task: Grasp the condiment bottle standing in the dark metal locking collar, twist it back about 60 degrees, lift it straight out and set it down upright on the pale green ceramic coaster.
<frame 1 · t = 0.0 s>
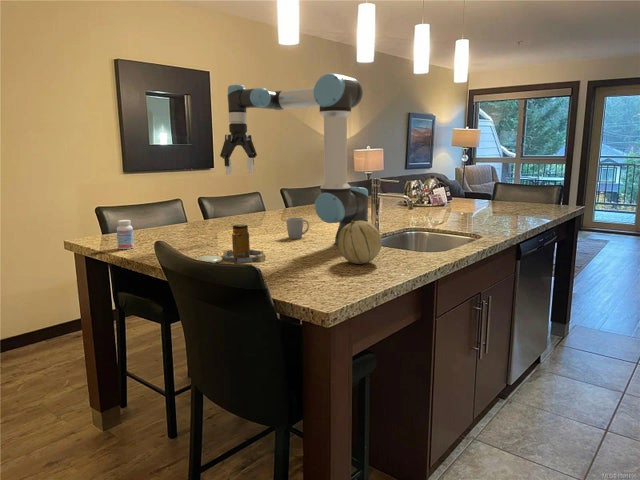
hand: (240, 173, 207), 28 cm above the worktop, fingers open, 13 cm apart
cup: (297, 238, 210), on the worktop
condiment: (244, 258, 171), resting in collar
cantaloupe: (359, 263, 162), on the worktop
collar: (243, 258, 171), on the worktop
pill bottle: (126, 248, 190), on the worktop
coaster: (207, 260, 168), on the worktop
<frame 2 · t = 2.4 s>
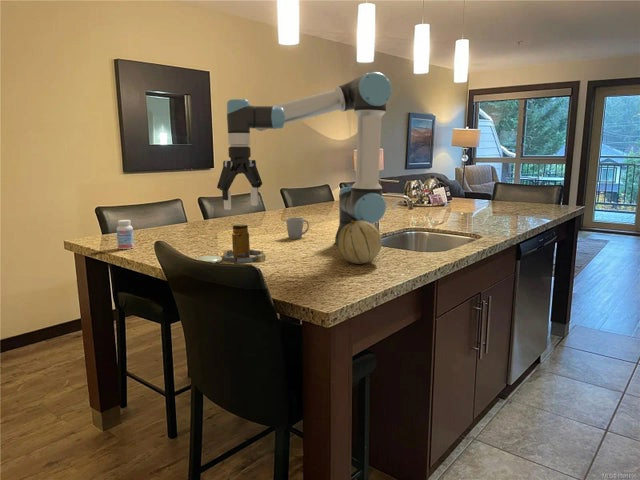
hand: (241, 207, 168), 18 cm above the worktop, fingers open, 13 cm apart
nothing on the worktop moved.
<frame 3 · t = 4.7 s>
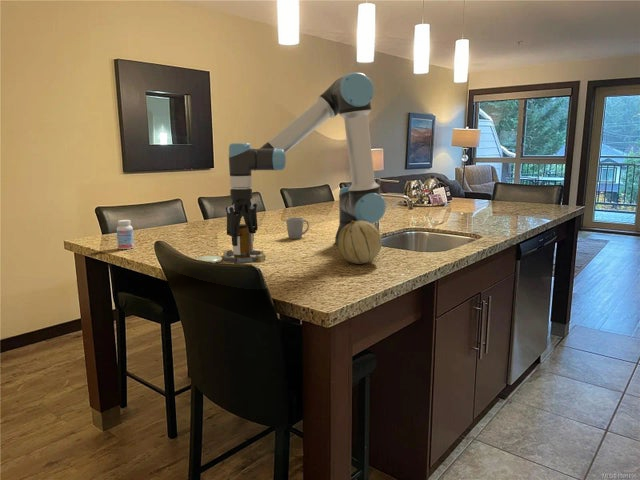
hand: (243, 252, 171), 2 cm above the worktop, fingers closed on condiment, 6 cm apart
condiment: (244, 258, 172), resting in collar, touching gripper
everything else where it was.
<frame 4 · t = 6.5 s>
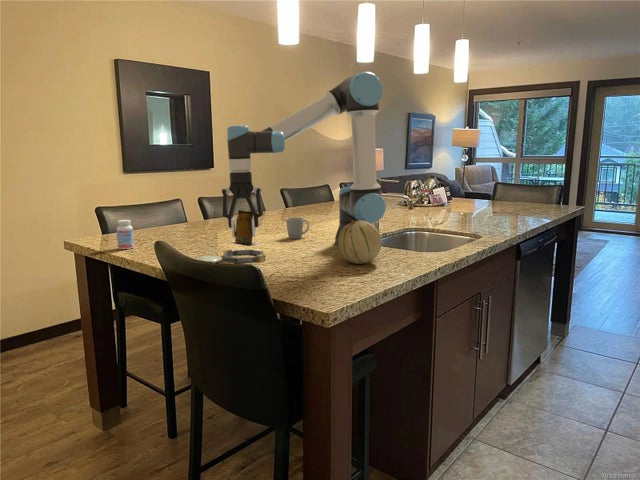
hand: (244, 236, 170), 8 cm above the worktop, fingers closed on condiment, 7 cm apart
condiment: (245, 244, 171), point 5 cm above the worktop, touching gripper
everything else where it was.
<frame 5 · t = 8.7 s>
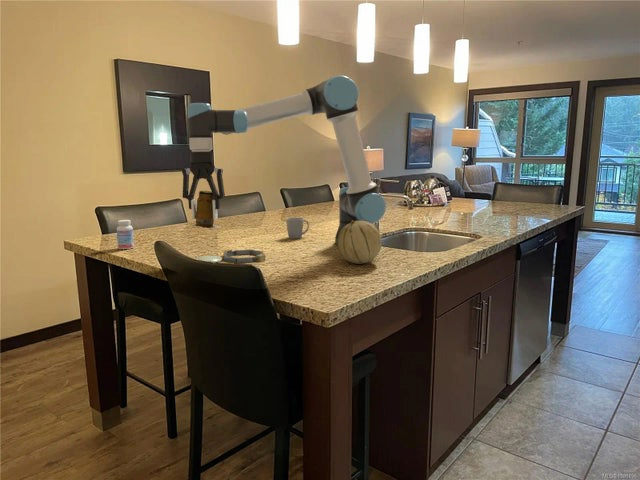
hand: (205, 218, 165), 15 cm above the worktop, fingers closed on condiment, 7 cm apart
condiment: (206, 226, 166), point 12 cm above the worktop, touching gripper
everything else where it was.
when the fingers open (4 cm above the worktop, at t = 11.4 s): condiment stays where it is, resting on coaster.
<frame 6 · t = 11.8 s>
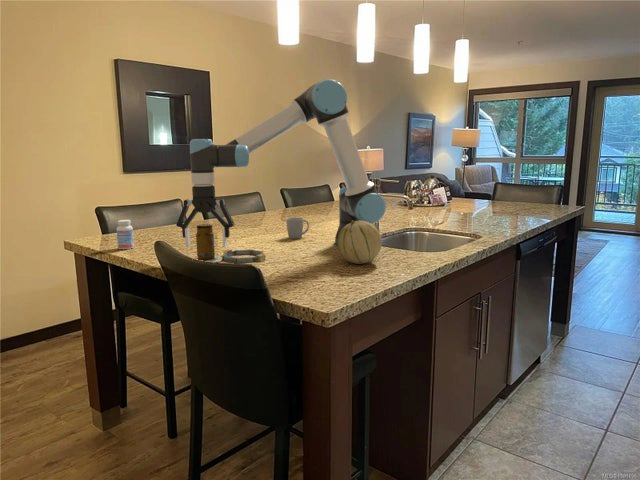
hand: (206, 246, 167), 5 cm above the worktop, fingers open, 12 cm apart
condiment: (207, 259, 168), resting on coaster
everything else where it was.
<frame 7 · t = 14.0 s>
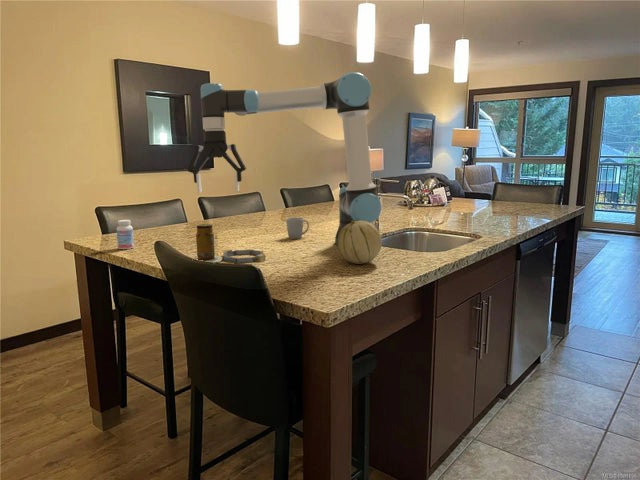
hand: (218, 191, 170), 24 cm above the worktop, fingers open, 13 cm apart
nothing on the worktop moved.
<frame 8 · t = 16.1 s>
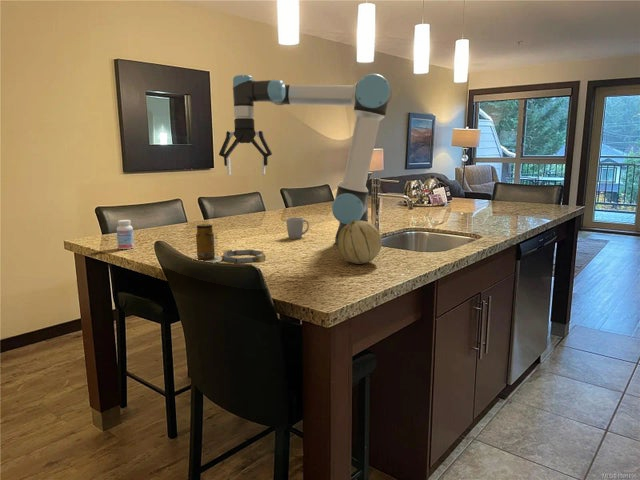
hand: (246, 174, 186), 29 cm above the worktop, fingers open, 13 cm apart
nothing on the worktop moved.
at the end: condiment 0.5 cm from the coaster (horizontally); condiment tilted 0°; the gripper is holding nothing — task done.
